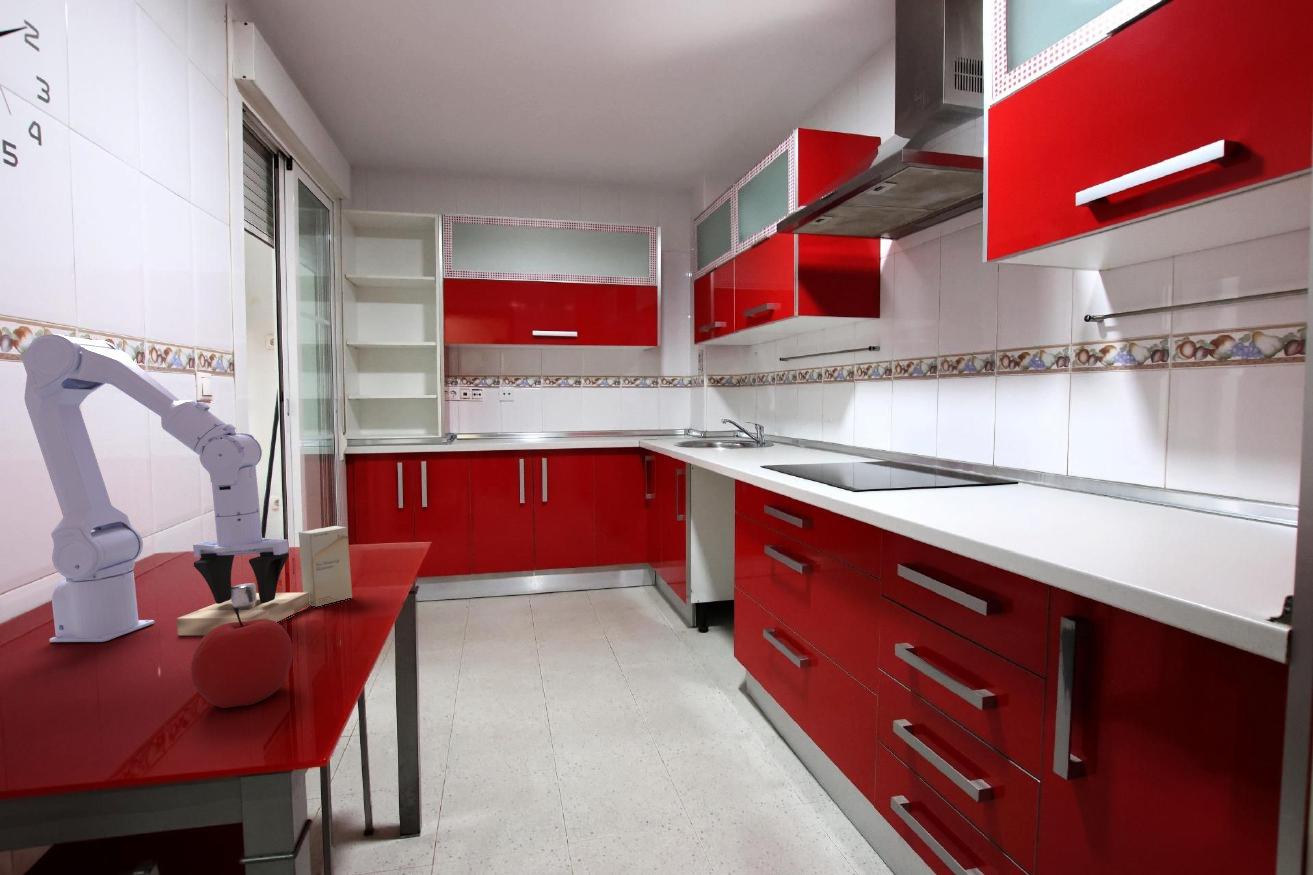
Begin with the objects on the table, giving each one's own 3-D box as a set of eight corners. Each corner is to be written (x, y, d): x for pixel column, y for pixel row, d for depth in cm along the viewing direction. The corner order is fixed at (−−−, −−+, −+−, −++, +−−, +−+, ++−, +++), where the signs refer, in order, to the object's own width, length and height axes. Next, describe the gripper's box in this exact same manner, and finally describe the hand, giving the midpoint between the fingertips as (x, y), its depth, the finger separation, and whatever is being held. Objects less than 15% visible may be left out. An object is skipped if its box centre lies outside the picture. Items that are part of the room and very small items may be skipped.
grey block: (228, 624, 95) (225, 589, 95) (246, 617, 98) (243, 582, 98) (245, 625, 94) (242, 589, 94) (263, 618, 97) (260, 583, 97)
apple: (178, 727, 63) (168, 629, 62) (214, 689, 72) (206, 603, 71) (282, 709, 65) (274, 615, 65) (304, 675, 74) (297, 591, 74)
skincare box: (315, 609, 101) (309, 533, 100) (302, 605, 103) (296, 531, 103) (354, 598, 106) (348, 526, 105) (341, 594, 108) (335, 524, 108)
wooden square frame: (178, 635, 91) (176, 618, 91) (243, 608, 103) (242, 593, 103) (251, 634, 90) (250, 617, 90) (309, 607, 101) (308, 592, 101)
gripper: (172, 519, 93) (180, 610, 93) (260, 516, 91) (268, 609, 91) (212, 511, 100) (220, 595, 100) (295, 508, 98) (302, 594, 98)
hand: (245, 601), depth 96 cm, fingers open, 7 cm apart
